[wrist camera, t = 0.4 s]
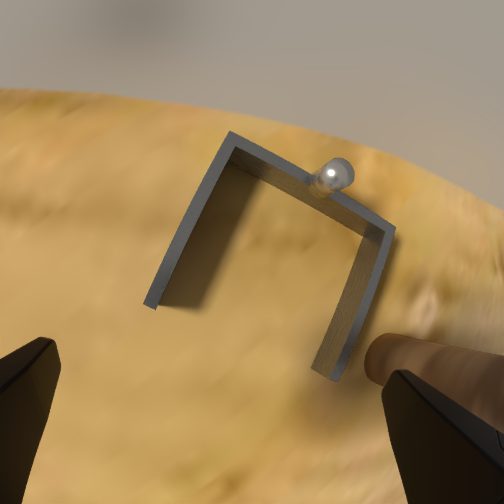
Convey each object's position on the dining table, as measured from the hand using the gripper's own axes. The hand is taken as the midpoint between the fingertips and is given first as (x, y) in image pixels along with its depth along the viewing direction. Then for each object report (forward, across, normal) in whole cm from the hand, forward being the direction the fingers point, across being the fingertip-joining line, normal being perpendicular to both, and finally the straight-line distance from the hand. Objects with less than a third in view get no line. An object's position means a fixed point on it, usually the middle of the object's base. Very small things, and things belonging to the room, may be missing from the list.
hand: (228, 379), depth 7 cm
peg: (+13, -15, +10) cm, 22 cm away
